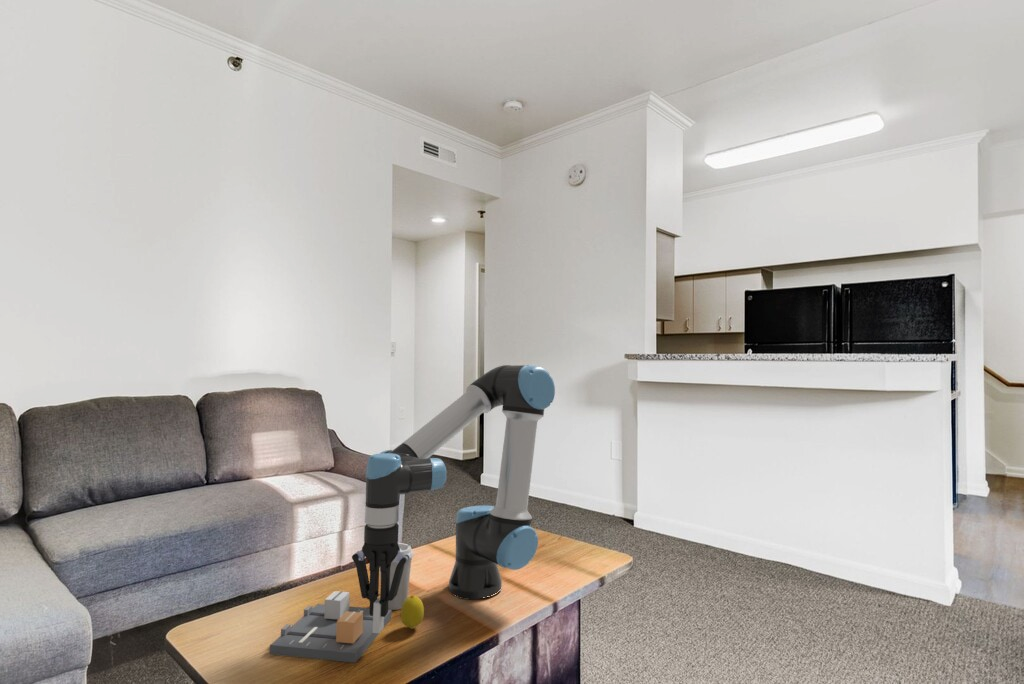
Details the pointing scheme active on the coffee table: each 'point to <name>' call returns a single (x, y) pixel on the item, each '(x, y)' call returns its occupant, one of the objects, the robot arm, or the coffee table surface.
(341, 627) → the fader orange
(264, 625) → the coffee table surface
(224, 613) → the coffee table surface
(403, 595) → the coffee cup
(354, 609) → the console
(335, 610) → the fader grey
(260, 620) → the coffee table surface
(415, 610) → the lemon
